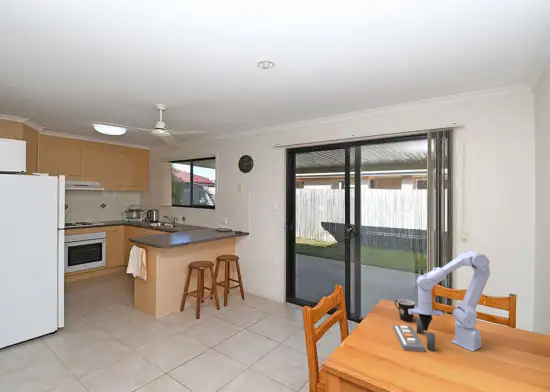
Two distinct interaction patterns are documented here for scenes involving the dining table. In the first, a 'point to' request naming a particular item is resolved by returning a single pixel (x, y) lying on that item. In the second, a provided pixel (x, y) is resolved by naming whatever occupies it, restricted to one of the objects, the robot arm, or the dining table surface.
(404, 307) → the coffee mug
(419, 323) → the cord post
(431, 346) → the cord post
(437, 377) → the dining table surface
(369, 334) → the dining table surface
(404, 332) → the breaker panel
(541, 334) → the dining table surface
